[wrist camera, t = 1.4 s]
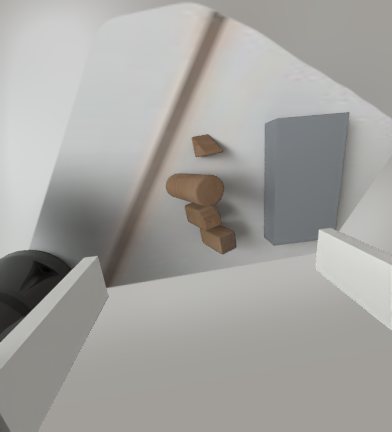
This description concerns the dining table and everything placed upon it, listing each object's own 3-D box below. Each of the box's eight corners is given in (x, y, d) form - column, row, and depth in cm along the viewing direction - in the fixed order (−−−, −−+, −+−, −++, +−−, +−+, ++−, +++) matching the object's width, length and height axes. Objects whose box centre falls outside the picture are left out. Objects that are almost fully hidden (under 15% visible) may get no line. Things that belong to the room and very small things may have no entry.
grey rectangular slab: (264, 236, 37) (273, 245, 33) (265, 123, 32) (277, 118, 28) (318, 230, 38) (334, 237, 34) (329, 118, 32) (349, 112, 28)
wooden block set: (218, 231, 39) (256, 249, 30) (180, 247, 35) (211, 273, 26) (202, 136, 33) (244, 123, 24) (154, 144, 29) (183, 133, 21)
